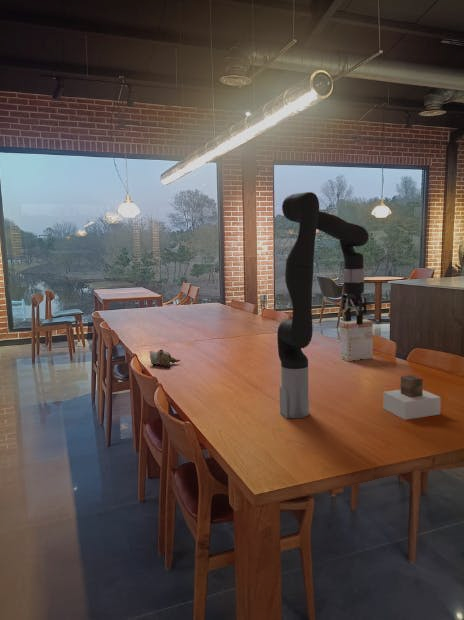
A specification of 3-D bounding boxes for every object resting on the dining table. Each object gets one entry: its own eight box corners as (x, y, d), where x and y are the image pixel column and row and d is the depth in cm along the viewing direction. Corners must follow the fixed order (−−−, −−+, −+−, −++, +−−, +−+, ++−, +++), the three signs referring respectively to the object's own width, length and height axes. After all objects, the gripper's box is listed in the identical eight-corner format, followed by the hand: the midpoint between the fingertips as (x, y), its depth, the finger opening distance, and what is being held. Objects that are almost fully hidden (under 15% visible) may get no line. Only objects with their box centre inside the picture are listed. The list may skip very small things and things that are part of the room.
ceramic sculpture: (155, 345, 245) (180, 349, 239) (156, 361, 246) (180, 365, 240) (144, 350, 235) (170, 353, 229) (144, 366, 236) (170, 370, 231)
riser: (404, 419, 154) (404, 402, 153) (383, 408, 165) (383, 391, 164) (440, 414, 157) (440, 397, 157) (416, 403, 169) (417, 387, 168)
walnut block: (409, 397, 157) (410, 380, 157) (400, 393, 162) (400, 376, 161) (422, 395, 159) (422, 378, 158) (412, 391, 163) (413, 374, 163)
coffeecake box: (364, 355, 244) (365, 318, 241) (373, 358, 237) (373, 320, 234) (339, 358, 239) (339, 321, 237) (347, 361, 232) (347, 323, 230)
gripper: (335, 280, 183) (336, 321, 185) (354, 282, 169) (354, 326, 171) (353, 279, 185) (353, 319, 187) (372, 281, 171) (372, 325, 173)
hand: (353, 322), depth 179 cm, fingers open, 8 cm apart
